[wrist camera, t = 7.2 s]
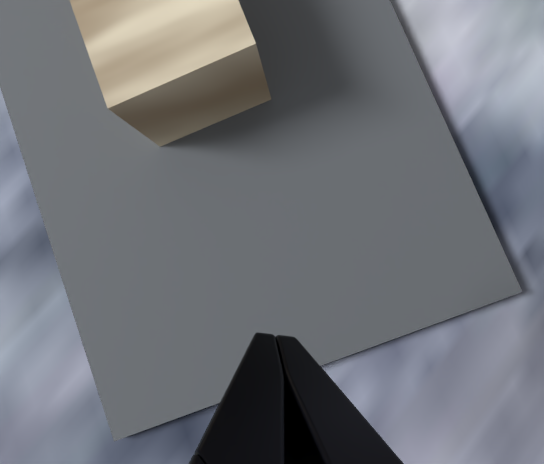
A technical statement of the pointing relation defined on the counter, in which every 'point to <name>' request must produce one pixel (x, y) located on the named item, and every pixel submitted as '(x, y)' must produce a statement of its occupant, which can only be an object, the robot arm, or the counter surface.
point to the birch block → (172, 62)
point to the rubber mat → (249, 205)
